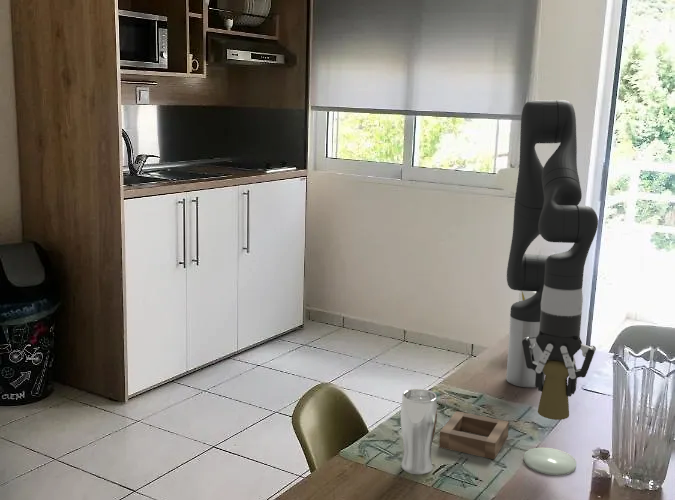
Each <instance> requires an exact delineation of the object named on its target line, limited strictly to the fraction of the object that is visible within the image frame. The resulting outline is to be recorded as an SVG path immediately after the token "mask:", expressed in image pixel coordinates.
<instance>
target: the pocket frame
mask: <svg viewBox="0 0 675 500" xmlns="http://www.w3.org/2000/svg"><path fill="white" fill-rule="evenodd" d="M509 424H510V421H508V420H502V419H498V418H493V417H488V416H482V415H478V414H473V413H467V412H462V411H458V410H456V411H455V412H454V413H453V415H452V416H451V417H450V418H449V419H448V420H447V422H446V423H445V425H443V427H442V428H441V430H439V439H438V440H439V444H438V446H439V448H440V449H441V448H442V449H446V450H451V451H453V452H454V451H455V452H458V453H464V454H469V455H473V456H477V457H482V458H486V459H489V460H490V459H491V460H495V459H496V457H497V455H498V454H499V453H500V451H501V449H502V447H503V446H504V444H505V443H506V441H507V439H508V438H509V429H510V428H509Z"/></svg>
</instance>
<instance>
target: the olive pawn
mask: <svg viewBox="0 0 675 500" xmlns="http://www.w3.org/2000/svg"><path fill="white" fill-rule="evenodd" d="M543 372H544V374H545V376H544V384H543V389H542V392H541V395H540V398H539V404H538V408H537V414H538V415H540V417H542V418H545V419H548V420H549V419H550V420H557V421H561V420H567V419H568V418H569V417H570V405H569V404H570V403H569V396H567V387H568V378H569V373H568V369H567V368H566V365H565V362H563V361H559V360H550V359H548V360H547V362H546V364H545V365H544V368H543Z"/></svg>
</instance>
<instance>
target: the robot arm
mask: <svg viewBox="0 0 675 500" xmlns="http://www.w3.org/2000/svg"><path fill="white" fill-rule="evenodd" d="M576 118H577V117H576V112H575V109H574V105H573V103H571V101H568V100H565V99H548V100H547V99H539V100H536V99H534V100H528V101H526V102H525V104H524V105H523V107H522V110H521V119H520V138H519V139H520V140H519V144H520V145H519V163H518V172H517V173H518V176H517V183H516V189H515V190H516V191H515V196H514V206H513V207H514V208H513V223H512V226H513V227H512V237H511V243H510V250H509V256H508V261H507V267H506V282H507V286H508V288H509V289H511V290H513V291H519V292H520V291H534V292H536V293H535V295H533V296H532V297H530V298H528V299H526V300H523V301H519V300H518V301H517V302H514V303H513V304H512V305H511V307H510V313H509V330H508V331H509V332H508V334H509V335H508V346H507V360H506V361H507V363H506V364H507V365H506V379H505V380H506V382H508V384H511V385H514V386H517V387H523V388H537V391H538V392H541V393H542V389H543V384H544V380H545V374H544V372H543V368H544V365H545V364H546V362H547V360H548V359H550V360H559V361H563V362H565V365H566V368H567V369H568V373H569V377H568V378H567V385H568V387H567V396H568V397H570V398H571V397H572V395H574V394H575V392H576V391H577V382H578V379H579V378H585V377H586V376H587V374H588V371H589V369H590V366H591V363H592V360H593V358H594V355H595V353H596V350H597V348H596V346H595V345H587V344H586V343H585V344H584V343H583V342H582V340H581V328H582V327H581V326H582V313H583V299H584V298H583V297H584V295H583V284H584V270H585V264H586V261H587V256H588V254H589V251H590V248H591V246H592V244H593V241H594V239H595V237H596V234H597V230H598V226H599V219H598V215H597V213H596V211H595V209H593V208H592V207H591V206H589V205H588V206H587V205H579V204H580V203H581V201H582V194H583V192H582V188H581V181H580V177H579V172H578V165H577V163H578V162H577V160H578V159H577V157H578V156H577V154H578V149H577V148H578V147H577V146H578V145H577V142H578V141H577V139H578V138H577V121H576V120H577V119H576ZM537 144H559V146H557V148H556V150H555V151H554V152H553V153H552V155H550V156H549V158H548V160H546V162H545V164H544V166H543V165H542V163H541V160H540V159H539V156H538V153H537V152H536V145H537ZM539 236H541V237H542V239H543V240H545V241H546V242H549V243H561V244H562V243H570V244H573V245H572V246H571V247H570V248H569V249H568V250H566V251H563V252H559V253H554V254H550V255H545V254H529V253H528V254H526V252H527V250H528V248H529V246H530V245H531V244H532V243H533V241H535V239H536V238H538V237H539ZM578 351H581V352H582V353H581V355H582V357H583V358H584V360H583V362H582V365H581V368H578V367H577V365H576V360H575V354H577V352H578Z"/></svg>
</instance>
